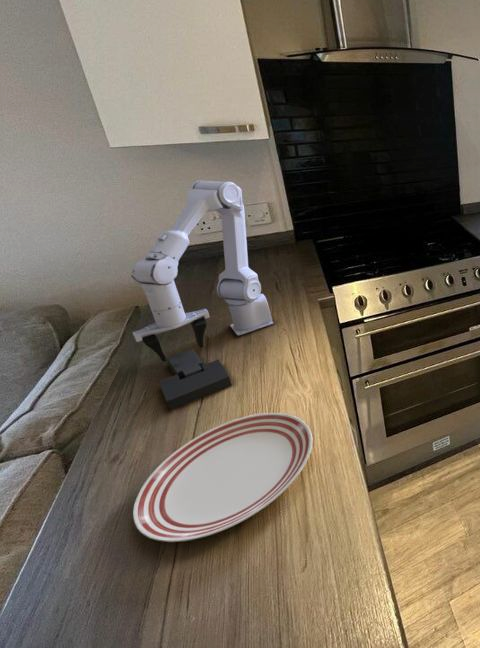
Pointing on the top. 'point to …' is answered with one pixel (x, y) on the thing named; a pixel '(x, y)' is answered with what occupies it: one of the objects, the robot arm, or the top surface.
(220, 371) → the notch pad
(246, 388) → the top surface
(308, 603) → the top surface
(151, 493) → the dinner plate
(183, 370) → the tongue pad
